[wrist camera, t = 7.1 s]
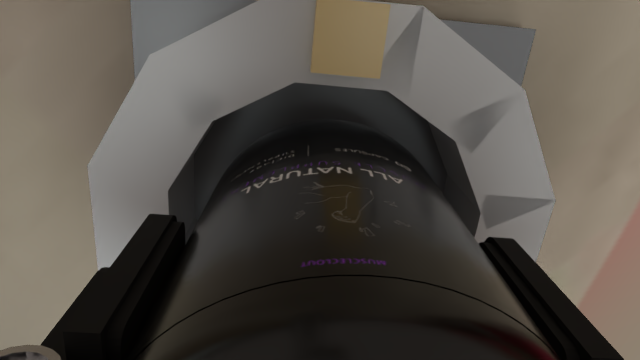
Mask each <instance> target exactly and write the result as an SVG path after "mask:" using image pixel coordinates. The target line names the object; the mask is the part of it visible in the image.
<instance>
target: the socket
mask: <svg viewBox="0 0 640 360" xmlns="http://www.w3.org/2000/svg"><path fill="white" fill-rule="evenodd" d="M130 2H131V20H132V38H133V56H134V73H135V82H134V83H133V85H132V87H131V89H130V91H129V92H128V94H127V96H126V98H125V100H124V101H123V103H122V105H121V107H120V109H119V110H118V112H117V114H116V116H115V117H114V119H113V121H112V123H111V125H110V126H109V128H108V130H107V132H106V134H105V135H104V137H103V139H102V141H101V142H100V144H99V146H98V148H97V150H96V151H95V153H94V155H93V157H92V159H91V160H90V162H89V164H88V165H87V167H88V176H89V185H90V195H91V205H92V215H93V224H94V234H95V244H96V254H97V263H98V270H100V269H101V268H103V267H110V266H111V265H112V264H113V262H114V261H115V260H116V258H117V257H118V256H119V254H120V253H121V252H122V250H123V249H124V247H125V246H126V245H127V243H128V242H129V241H130V239H131V238H132V237H133V235H134V234H135V233H136V231H137V230H138V228H139V227H140V226H141V224H142V223H143V222H144V220H145V219H146V218H147V216H148V215H149V214H163V215H175V216H176V218H177V222H184V224H185V245H186V243H187V241H188V239H189V237H190V235H191V233H192V231H193V229H194V227H195V225H196V223H197V221H198V219H199V218H200V216H201V214H202V212H203V210H204V208H205V206H206V204H207V202H208V200H209V198H210V196H211V194H212V192H213V190H214V189H215V187H216V185H217V184H218V182H219V180H220V178H221V177H222V175H223V174H224V172H225V171H226V169H227V168H228V167H229V165H230V164H231V163H232V162H233V161H234V159H235V158H236V157H237V156H238V155H239V154H240V153H241V152H242V151H243V150H244V149H246V148H247V147H248V146H249V145H250V144H252V143H253V142H255V141H256V140H258V139H259V138H261V137H262V136H264V135H266V134H268V133H270V132H272V131H274V130H276V129H279V128H281V127H284V126H287V125H290V124H294V123H298V122H303V121H308V120H319V119H334V120H344V121H349V122H354V123H359V124H362V125H365V126H368V127H371V128H373V129H376V130H378V131H380V132H382V133H384V134H386V135H388V136H390V137H391V138H393V139H394V140H396V141H397V142H398V143H400V144H401V145H402V146H403V147H405V148H406V149H407V150H408V151H409V152H410V153H411V154H412V155H413V156H414V157H415V158H416V159H417V160H418V161H419V162H420V164H421V165H422V166H423V167H424V169H425V170H426V171H427V172H428V174H429V175H430V176H431V178H432V179H433V180H434V182H435V183H436V185H437V186H438V187H439V189H440V190H441V192H442V193H443V194H444V196H445V197H446V199H447V200H448V201H449V203H450V204H451V206H452V207H453V208H454V210H455V211H456V213H457V214H458V216H459V217H460V218H461V220H462V221H463V223H464V224H465V225H466V227H467V228H468V230H469V231H470V232H471V234H472V235H473V237H474V238H475V239H476V241H477V242H478V244H479V243H480V242H484V241H485V240H486V238H488V237H499V238H513V239H514V240H515V241H516V242H517V243H518V244H519V245H520V246H521V247H522V248H523V249H524V250H525V251H526V253H527V254H528V255H529V256H530V257H531V258H532V259H533V260H534V261H535V262H536V260H537V257H538V254H539V251H540V248H541V244H542V241H543V238H544V235H545V232H546V229H547V226H548V223H549V219H550V216H551V213H552V210H553V207H554V204H555V202H556V200H555V197H554V193H553V190H552V186H551V183H550V179H549V175H548V172H547V168H546V164H545V161H544V157H543V153H542V150H541V146H540V143H539V139H538V135H537V132H536V128H535V124H534V121H533V117H532V113H531V110H530V106H529V102H528V99H527V95H526V92H525V91H526V90H525V89H523V88H522V87H521V85H522V81H523V77H524V74H525V70H526V66H527V62H528V58H529V54H530V51H531V47H532V43H533V39H534V35H535V31H536V29H527V28H518V27H508V26H499V25H489V24H479V23H470V22H460V21H450V20H441V19H439V18H437V17H436V16H435V15H434V14H432V13H431V12H430V11H429V10H428V9H426V8H425V7H424V6H423V5H409V4H399V3H390V2H380V1H371V0H258V1H257V0H130Z"/></svg>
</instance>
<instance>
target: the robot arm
mask: <svg viewBox="0 0 640 360" xmlns="http://www.w3.org/2000/svg"><path fill="white" fill-rule="evenodd" d="M479 245H480V246H481V248H482V249H483V251H484V252H485V253H486V255H487V256H488V258H489V259H490V261H491V262H492V263H493V265H494V266H495V268H496V269H497V270H498V272H499V273H500V275H501V276H502V277H503V279H504V280H505V282H506V283H507V284H508V286H509V287H510V289H511V290H512V291H513V293H514V294H515V296H516V297H517V299H518V300H519V301H520V303H521V304H522V306H523V307H524V308H525V310H526V311H527V313H528V314H529V315H530V317H531V318H532V320H533V321H534V322H535V324H536V325H537V327H538V328H539V330H540V331H541V332H542V334H543V335H544V337H545V338H546V339H547V341H548V342H549V344H550V345H551V346H552V348H553V349H554V351H555V352H556V353H557V355H558V356H559V358H560V359H561V360H624V359H623V358H622V357H621V355H620V354H619V353H618V352H617V351H616V350H615V349H614V348H613V347H612V346H611V344H610V343H608V341H607V340H606V339H605V338H604V337H603V336H602V335H601V334H600V333H599V332H598V330H597V329H596V328H595V327H594V326H593V325H592V324H591V323H590V321H589V320H588V319H587V318H586V317H585V316H584V315H583V314H582V313H581V312H580V311H579V309H578V308H577V307H576V306H575V305H574V304H573V303H572V302H571V301H570V300H569V299H568V297H567V296H566V295H565V294H564V293H563V292H562V291H561V290H560V289H559V288H558V286H557V285H556V284H555V283H554V282H553V281H552V280H551V279H550V278H549V277H548V276H547V274H546V273H545V272H544V271H543V270H542V269H541V268H540V267H539V266H538V265H537V263H536V262H535V261H534V260H533V259H532V258H531V257H530V256H529V255H528V254H527V253H526V251H525V250H524V249H523V248H522V247H521V246H520V245H519V244H518V243H517V242H516V241H515V240H514V239H513V238H499V237H488V238H486V240H485V241H484V242H480V243H479ZM184 247H185V224H184V222H177V218H176V216H175V215H163V214H149V215H148V216H147V218H146V219H145V220H144V222H143V223H142V224H141V226H140V227H139V228H138V230H137V231H136V233H135V234H134V235H133V237H132V238H131V239H130V241H129V242H128V243H127V245H126V246H125V247H124V249H123V250H122V252H121V253H120V254H119V256H118V257H117V258H116V260H115V261H114V262H113V264H112V265H111V266H110V267H103V268H101V269H100V270H98V271H97V273H96V274H95V275H94V276H93V278H92V279H91V280H90V282H89V283H88V284H87V286H86V287H85V288H84V289H83V291H82V292H81V293H80V295H79V296H78V297H77V298H76V300H75V301H74V302H73V304H72V305H71V306H70V307H69V309H68V310H67V311H66V313H65V314H64V315H63V317H62V318H61V319H60V320H59V322H58V323H57V324H56V326H55V327H54V328H53V329H52V331H51V332H50V333H49V335H48V336H47V337H46V339H45V340H44V341H43V342H42V344H41V345H22V346H15V347H10V348H7V349H4V350H0V360H126V359H127V357H128V355H129V353H130V351H131V349H132V347H133V345H134V343H135V341H136V340H137V338H138V336H139V334H140V332H141V330H142V328H143V326H144V324H145V322H146V320H147V318H148V316H149V314H150V312H151V310H152V309H153V307H154V305H155V303H156V301H157V299H158V297H159V295H160V293H161V291H162V289H163V287H164V285H165V283H166V281H167V279H168V278H169V276H170V274H171V272H172V270H173V268H174V266H175V264H176V262H177V260H178V258H179V256H180V254H181V252H182V250H183V249H184Z"/></svg>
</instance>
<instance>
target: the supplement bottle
mask: <svg viewBox="0 0 640 360" xmlns="http://www.w3.org/2000/svg"><path fill="white" fill-rule="evenodd" d="M126 360H561V359H560V358H559V356H558V355H557V353H556V352H555V351H554V349H553V348H552V346H551V345H550V344H549V342H548V341H547V339H546V338H545V337H544V335H543V334H542V332H541V331H540V330H539V328H538V327H537V325H536V324H535V322H534V321H533V320H532V318H531V317H530V315H529V314H528V313H527V311H526V310H525V308H524V307H523V306H522V304H521V303H520V301H519V300H518V299H517V297H516V296H515V294H514V293H513V291H512V290H511V289H510V287H509V286H508V284H507V283H506V282H505V280H504V279H503V277H502V276H501V275H500V273H499V272H498V270H497V269H496V268H495V266H494V265H493V263H492V262H491V261H490V259H489V258H488V256H487V255H486V253H485V252H484V251H483V249H482V248H481V246H480V245H479V244H478V242H477V241H476V239H475V238H474V237H473V235H472V234H471V232H470V231H469V230H468V228H467V227H466V225H465V224H464V223H463V221H462V220H461V218H460V217H459V216H458V214H457V213H456V211H455V210H454V208H453V207H452V206H451V204H450V203H449V201H448V200H447V199H446V197H445V196H444V194H443V193H442V192H441V190H440V189H439V187H438V186H437V185H436V183H435V182H434V180H433V179H432V178H431V176H430V175H429V174H428V172H427V171H426V170H425V169H424V167H423V166H422V165H421V164H420V162H419V161H418V160H417V159H416V158H415V157H414V156H413V155H412V154H411V153H410V152H409V151H408V150H407V149H406V148H405V147H403V146H402V145H401V144H400V143H398V142H397V141H396V140H394V139H393V138H391V137H390V136H388V135H386V134H384V133H382V132H380V131H378V130H376V129H373V128H371V127H368V126H365V125H362V124H359V123H354V122H349V121H344V120H334V119H319V120H308V121H303V122H298V123H294V124H290V125H287V126H284V127H281V128H279V129H276V130H274V131H272V132H270V133H268V134H266V135H264V136H262V137H261V138H259V139H258V140H256V141H255V142H253V143H252V144H250V145H249V146H248V147H247V148H246V149H244V150H243V151H242V152H241V153H240V154H239V155H238V156H237V157H236V158H235V159H234V161H233V162H232V163H231V164H230V165H229V167H228V168H227V169H226V171H225V172H224V174H223V175H222V177H221V178H220V180H219V182H218V184H217V185H216V187H215V189H214V190H213V192H212V194H211V196H210V198H209V200H208V202H207V204H206V206H205V208H204V210H203V212H202V214H201V216H200V218H199V219H198V221H197V223H196V225H195V227H194V229H193V231H192V233H191V235H190V237H189V239H188V241H187V243H186V245H185V247H184V249H183V250H182V252H181V254H180V256H179V258H178V260H177V262H176V264H175V266H174V268H173V270H172V272H171V274H170V276H169V278H168V279H167V281H166V283H165V285H164V287H163V289H162V291H161V293H160V295H159V297H158V299H157V301H156V303H155V305H154V307H153V309H152V310H151V312H150V314H149V316H148V318H147V320H146V322H145V324H144V326H143V328H142V330H141V332H140V334H139V336H138V338H137V340H136V341H135V343H134V345H133V347H132V349H131V351H130V353H129V355H128V357H127V359H126Z"/></svg>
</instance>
